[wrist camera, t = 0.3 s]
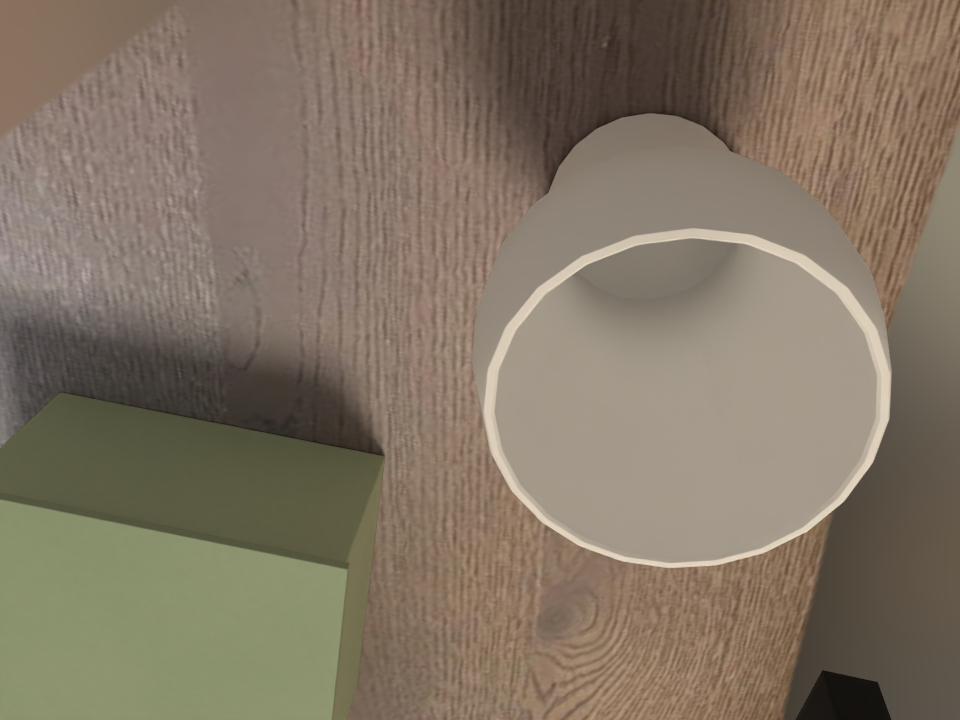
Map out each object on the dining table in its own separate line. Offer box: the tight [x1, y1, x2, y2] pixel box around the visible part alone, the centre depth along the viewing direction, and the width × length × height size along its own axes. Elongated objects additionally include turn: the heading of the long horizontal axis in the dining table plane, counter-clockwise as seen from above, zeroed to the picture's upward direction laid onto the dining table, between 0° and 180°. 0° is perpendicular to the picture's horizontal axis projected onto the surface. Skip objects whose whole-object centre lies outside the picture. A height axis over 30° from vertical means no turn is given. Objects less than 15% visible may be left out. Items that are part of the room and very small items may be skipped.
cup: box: [472, 113, 892, 568], centre depth 27 cm, size 11×11×15 cm
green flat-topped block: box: [0, 392, 385, 720], centre depth 41 cm, size 16×16×8 cm
